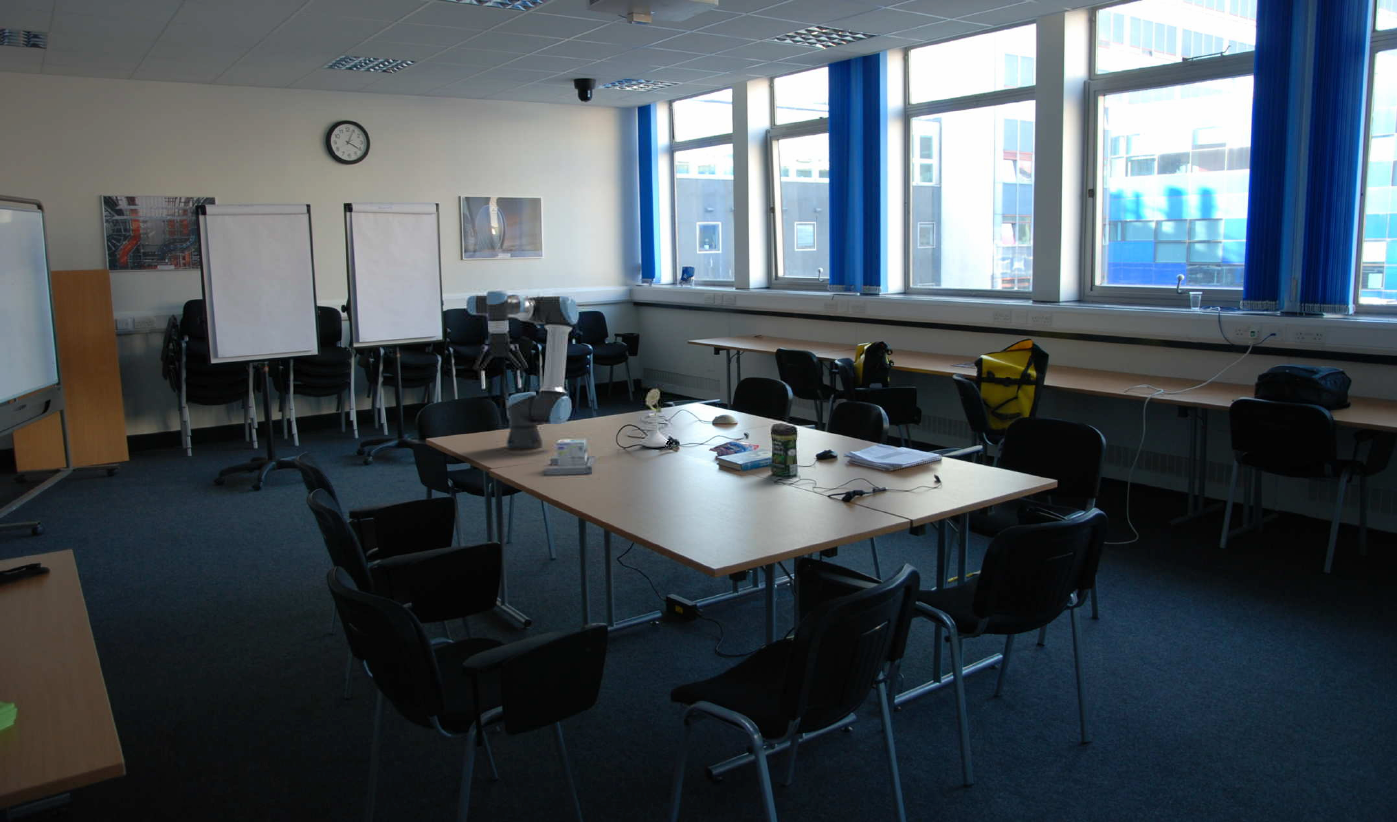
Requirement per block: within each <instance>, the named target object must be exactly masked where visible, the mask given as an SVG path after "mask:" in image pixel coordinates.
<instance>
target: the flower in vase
mask: <svg viewBox="0 0 1397 822" xmlns="http://www.w3.org/2000/svg"><path fill="white" fill-rule="evenodd" d="M660 394H661V392H660V390H658V389H657V388H655V389H654V388H653V389H651V390H650V391H649V392H648V393H647V395H646V398H645V401H646V402H645V404H646V406H648V407H650V409H651V410H653V411H654V413H653V412H652V413H649V414H648V416H649V417H650V419H651V424H652V425H651V426H652V430H651V432H650V433H649V434H648V435H646V437H645V438H644V439H643V440H642V442H641V444H642V446H645V447H646V448H661V447H666V446H667V445H666V443H667V441H669V440H668V439H667V437H666V436H664V435H662V434H661V432H660V431H659V426H658V425H659V424H658V423H659V418H660V417H661V415H662V414H661V413H662V409H661V407H660V406H659V404H658V401H659V399H660ZM655 404H656V408H654V407H653V406H654V405H655ZM665 445H666V446H665Z"/></svg>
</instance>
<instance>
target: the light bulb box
mask: <svg viewBox="0 0 1397 822" xmlns="http://www.w3.org/2000/svg"><path fill="white" fill-rule="evenodd" d="M587 450H588V448H587V439H586V438H573V439H572V438H569V439H559V440H558V441H557V442H556V452H557V453H556V454H557V455H556V456H557V457H558V465H557V467H574V466H587V456H588V452H587Z"/></svg>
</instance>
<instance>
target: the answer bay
mask: <svg viewBox="0 0 1397 822" xmlns="http://www.w3.org/2000/svg"><path fill="white" fill-rule="evenodd" d="M549 460H550V465H551V466H549V467H548V466H546V467H545V469H544V470H545V471H544V473H545V476H561V475H565V474H566V475H592V474H593V471H594V468H593V467H594V466H595V463H596V457H595V456H594V455H592V456H591V455H589V456H588V455H587V466H574V467H558V457H550V459H549Z"/></svg>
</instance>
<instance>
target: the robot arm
mask: <svg viewBox="0 0 1397 822" xmlns="http://www.w3.org/2000/svg"><path fill="white" fill-rule="evenodd" d="M466 310H467V312H468V314H470V315H475V316H487V324H488V325H487V326H488V332H489V333H488V345H485V344H482V345H481V346H480V351H479V354H478V355H477V358H476V360H475V363H474V366H473V368H472V369H473V370H474V371H477V372H478V374H477V375H478V380H479V381H481V389H482V390H484V389H486V376H485V370H483V369H485V367H486V366H487V364H488V363H489V362H490V361H491V359H493V357H495V358H498V357H500V358H504V357H506V358H508V359H509V360H510V361H511V363H512V364H514V366H516V368H517V369H518V370H517V386H518V387H517V388H518V389H521V388H522V380H523V379H524V371H525V369H528V368H529V365H528V364H527V362H526V360H525V359H524V356H523V355H522V353H521V351H520V349H519V344H517V343H515V344H512V345H511V344H510V334H509V329H510V328H509V318H515V319H517V320H519V321H522V322H529V323H533V324H540V325H542V324H543V325H544V328H545V329H546V330H547V337H546V347H545V360H544V362H545V363H544V373H543V382H542V383H543V385H542V388H541V389H539V391H538V395H537V393H536V391H529V392H528V391H527V392H520V393H519V392H518V393H515V394H512V395H510V396H509V397H508V403H507V407H508V419H509V421H508V422H509V432H508V435H507V438H506V439H507V440H506V449H508V448H509V449H508V450H511V451H512V450H513V451H514V450H515V451H527V450H534V449H535V448H536V449H539V448H542V447H543V439H542V436H541V434H540V431H539V427H538V424H545V425H546V424H548V425H549V424H551V425H559V424H560V425H562V424H564V423H566V422H567V421H568V419H569V418H570V415H571V413H572V408H573V407H572V400H571V398H570V397H569V396H567V395H568V393H567V391H566V389H565V379H566V378H565V377H566V376H565V375H566V366H567V354H568V353H567V352H568V350H567V349H568V339H569V333H570V332H571V331H572V330H573V325H576V324H577V323H578V321H579V318H580V317H579V315H580V313H579V307H578V304H577V302H576V300H575V299H574V298H573V297H571V296H565V295H559V296H558V295H557V296H554V295H553V296H552V295H551V296H534V297H523V296H521V295H519V294H510V295H509V294H508V292H506V290H489V291H488V292H487V293H486V295H483V294H482V295H481V294H480V295H478V294H475V295H470V296H469V297H468V298H467V300H466ZM511 349H512V351H514V352H515V354H516V356H517V358H518V359H519V361H520V362H519V361H518V360H517V359H516V358H515V357H514V356H513V354H512V353H511V352H510V350H511ZM487 350H488V351H489V352H490V353H489V355H488V356H487V358H486V359H484V361H483V362H482V364H481V365H480V363H481V361H482V360H483V359H482V358H483V356H484V355H485V352H486V351H487ZM520 363H521V364H520ZM479 365H480V366H479Z"/></svg>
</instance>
